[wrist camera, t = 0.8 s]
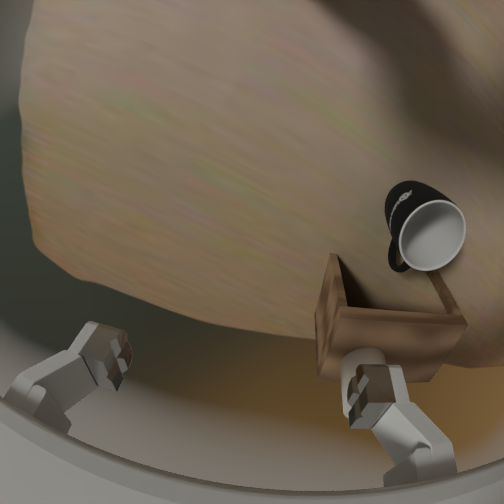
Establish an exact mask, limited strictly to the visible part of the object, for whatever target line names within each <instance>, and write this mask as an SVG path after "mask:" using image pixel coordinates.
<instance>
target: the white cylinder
mask: <svg viewBox="0 0 504 504" xmlns="http://www.w3.org/2000/svg"><path fill="white" fill-rule="evenodd" d="M360 364H385V365H387V364H386V360H385V356H384V354H383V352H382V351H380V350H379V349H376V348H360V349H357V350H354V351H352V352H350V353H348V354H347V355H345V356H344V357H343V358H342V360H341V362H340V375H341V386H342V397H343V398H342V399H343V413H344V415H345V416H346V417H347V418H349V415H348V413H349V411H350V409H351V408H352V407H351V406H350V405H349V403H348V402H347V390H348V385H349V382H350V380H351V378H352V377H354V376H356V369H357V367H358V365H360Z"/></svg>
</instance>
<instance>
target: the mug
mask: <svg viewBox="0 0 504 504" xmlns="http://www.w3.org/2000/svg"><path fill="white" fill-rule="evenodd" d="M385 216H386V220H387V224H388V227H389V230H390V233H391V236H392V240H391V243H390V247H389V252H388V261H389V265H390V267H391V268H392V269H393V270H394V271H396V272H405V271H406V270H408V269H409V268H411V267H412V268H414V269H417V270H420V271H431V270H435V269H438V268H441V267H443V266H444V265H446V264H447V263H449V262H450V261H451V260H452V259H453V258H454V257H455V256H456V255H457V254H458V252H459V251H460V249H461V247H462V245H463V243H464V240H465V236H466V221H465V218H464V215H463V213H462V211H461V210H460V209H459V207H458V206H457V205H456V204H455V203H454V202H452V201H451V200H450V199H449V198H447V197H446V196H445V195H443V194H442V193H440V192H439V191H437V190H435V189H434V188H432V187H430V186H428V185H426V184H423V183H421V182H417V181H404V182H401V183H399V184H397V185H396V186H395V187H393V188H392V189H391V191H390V192H389V194H388V196H387V198H386V202H385ZM397 249H398V251H399V253H400V255H401V257H402V258H403V260H404V262H403V263H402V264H401V265H400V266H397V264H396V251H397Z"/></svg>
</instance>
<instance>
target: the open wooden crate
mask: <svg viewBox="0 0 504 504" xmlns="http://www.w3.org/2000/svg"><path fill="white" fill-rule="evenodd" d="M427 274H428V276H429V278H430V280H431V282H432V283H433V285H434V287H435V289H436V291H437V292H438V294H439V296H440V298H441V300H442V302H443V304H444V306H445V308H446V310H447V312H448V314H435V313H420V312H405V311H392V310H380V309H368V308H357V307H348V306H347V300H346V295H345V290H344V285H343V280H342V276H341V271H340V266H339V262H338V257H337V254H331V253H330V256H329V261H328V265H327V269H326V273H325V277H324V281H323V285H322V289H321V293H320V297H319V300H318V304H317V308H316V312H315V331H316V354H317V380H318V381H334V382H341V375H340V362H341V360H342V358H343V357H344V356H345V355H347V354H348V353H350V352H352V351H354V350H357V349H360V348H376V349H379V350H380V351H382V352H383V354H384V356H385V360H386V364H387V365H400V366H401V368H402V372H403V375H404V379H405V383H414V382H429V381H430V380H431V379H432V377H433V376H434V375H435V373H436V372H437V371H438V369H439V368H440V367H441V365H442V364H443V362H444V361H445V360H446V358H447V357H448V355H449V354H450V352H451V351H452V349H453V348H454V346H455V345H456V343H457V342H458V340H459V339H460V337H461V336H462V334H463V332H464V331H465V329H466V328H467V326H468V324H467V322H466V320H465V319H464V317H463V315H462V313H461V311H460V309H459V307H458V306H457V304H456V302H455V300H454V298H453V297H452V295H451V293H450V291H449V290H448V288H447V286H446V285H445V283H444V281H443V280H442V278H441V276H440V275H439V273H438V271H437V270H436V269H435V270H431V271H427Z"/></svg>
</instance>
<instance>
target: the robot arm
mask: <svg viewBox="0 0 504 504" xmlns="http://www.w3.org/2000/svg"><path fill="white" fill-rule="evenodd" d="M127 339H128V336H127V333H126V331H123V330H120V329H116V328H113V327H109V326H106V325H102V324H99V323H96V322H92V321H89V322H87V323H86V325H85V326H84V327H83V329H82V330H81V332H80V333H79V335H78V336H77V337H76V339H75V340H74V342H73V343H72V345H71V346H70V348H69V349H68V351H66V350H63V351H61V352H60V353H58V354H56V355H54V356H52V357H50V358H48V359H46V360H44V361H42V362H41V363H39V364H37V365H35V366H33V367H31V368H29V369H27V370H25V371H24V372H22V373H20V374H19V375H18V376H17V378H16V379H15V381H14V382H13V384H12V386H11V387H10V388H9V390H8V392H7V393H6V395H5V396H4V398H2V397H1V396H0V504H504V458H502V459H499V460H497V461H494V462H491V463H488V464H485V465H482V466H479V467H476V468H473V469H469V470H466V471H463V472H459V473H457V467H456V462H455V457H454V452H453V447H452V442H451V441H450V440H449V439H448V438H447V437H446V436H445V435H444V434H443V433H442V432H441V431H440V429H439V428H438V427H437V426H436V425H435V424H434V423H433V422H432V421H431V420H430V419H429V418H428V417H427V416H426V415H425V414H424V413H423V412H422V411H421V410H420V409H419V407H418V406H417V405H416V404H415V403H414V402H410V400H409V396H408V392H407V387H406V383H405V379H404V375H403V372H402V368H401V366H400V365H385V364H360V365H358V367H357V369H356V376H354V377H352V378H351V380H350V382H349V385H348V390H347V402H348V403H349V405H350V406H351V407H352V408H351V409H350V411H349V413H348V415H349V427H350V428H356V429H357V428H358V429H371V430H372V432H373V433H374V435H375V436H376V437H377V439H378V440H379V442H380V443H381V445H382V446H383V448H384V449H385V451H386V452H387V454H388V455H389V456H390V458H391V459H392V461H393V462H394V464H395V465H396V466H394V467H393V468H392V469H390V470H389V471H388V472H386V473H385V474H384V475H383V481H384V487H381V488H372V489H361V490H345V491H290V490H274V489H262V488H253V487H244V486H237V485H230V484H223V483H218V482H212V481H207V480H202V479H197V478H192V477H188V476H184V475H179V474H175V473H171V472H168V471H164V470H160V469H157V468H153V467H150V466H147V465H143V464H140V463H137V462H134V461H131V460H128V459H125V458H122V457H120V456H117V455H114V454H112V453H109V452H106V451H104V450H101V449H99V448H96V447H94V446H92V445H89V444H87V443H85V442H82V441H80V440H78V439H76V438H73V437H71V436H69V435H67V433H68V431H69V429H70V427H71V421H70V420H69V419H68V418H67V416H66V415H65V414H64V412H65V411H66V410H68V409H69V408H71V407H72V406H73V405H75V404H76V403H77V402H79V401H80V400H81V399H83V398H84V397H86V396H87V395H88V394H90V393H91V392H92V391H94V390H95V389H96V388H97V386H99V387H102V388H105V389H108V390H111V391H115V392H117V391H118V389H119V387H120V385H121V383H122V381H123V375H122V373H123V372H124V371H126V370H127V369H128V368H129V366H130V364H131V360H132V349H131V346H130V345H129V344H128V343H127Z"/></svg>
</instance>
